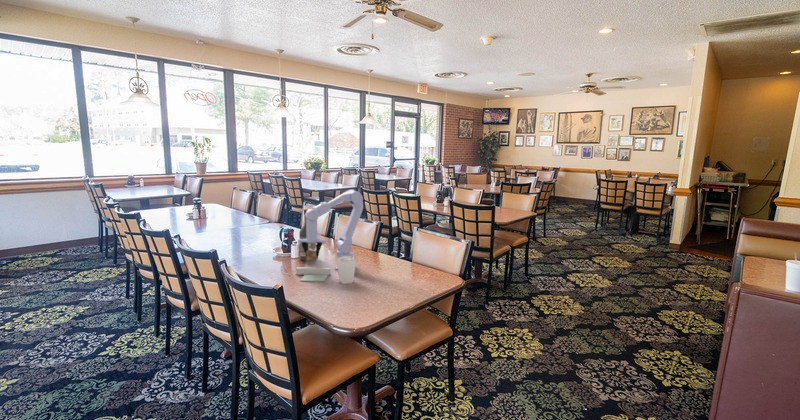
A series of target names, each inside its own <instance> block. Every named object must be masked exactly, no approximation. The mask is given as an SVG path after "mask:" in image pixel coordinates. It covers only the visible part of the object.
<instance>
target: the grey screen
mask: <svg viewBox="0 0 800 420" xmlns="http://www.w3.org/2000/svg"><path fill="white" fill-rule="evenodd" d="M295 275H301V276H302V275H303V276H304V275H328V276H331V267H300V266H299V267H298V266H297V267H296V268H295Z"/></svg>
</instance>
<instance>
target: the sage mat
mask: <svg viewBox="0 0 800 420" xmlns="http://www.w3.org/2000/svg"><path fill="white" fill-rule="evenodd" d="M328 276H329V275H303V276H302V277H301V279H300V280H299V282H312V283H325V281H326V280H327V278H328Z"/></svg>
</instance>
